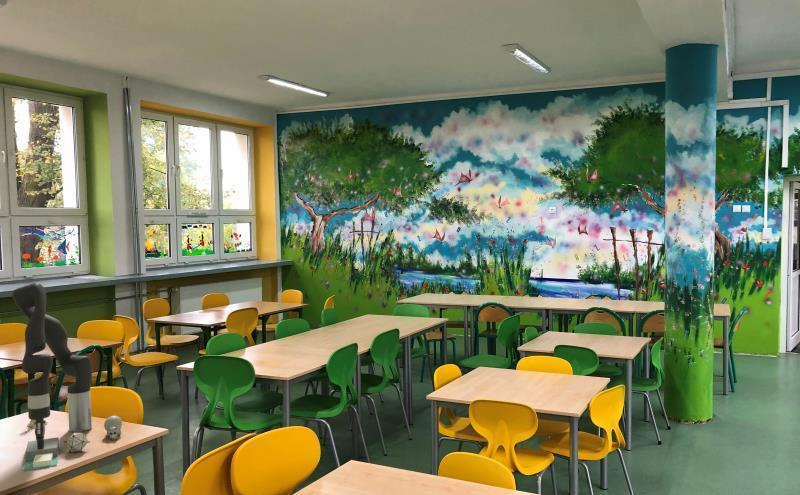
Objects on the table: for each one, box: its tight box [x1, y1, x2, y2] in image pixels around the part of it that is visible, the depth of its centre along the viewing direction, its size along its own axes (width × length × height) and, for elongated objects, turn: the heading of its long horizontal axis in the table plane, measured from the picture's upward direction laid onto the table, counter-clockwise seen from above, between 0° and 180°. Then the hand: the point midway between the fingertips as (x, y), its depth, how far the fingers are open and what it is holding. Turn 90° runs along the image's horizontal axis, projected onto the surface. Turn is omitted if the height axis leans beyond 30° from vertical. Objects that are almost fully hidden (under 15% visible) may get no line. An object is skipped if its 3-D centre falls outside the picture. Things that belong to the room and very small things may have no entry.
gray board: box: [24, 436, 60, 462], centre depth 264 cm, size 11×14×4 cm
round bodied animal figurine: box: [103, 415, 123, 441], centre depth 284 cm, size 7×12×8 cm, turn 21°
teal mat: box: [23, 457, 58, 472], centre depth 253 cm, size 11×10×1 cm
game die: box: [63, 430, 91, 454], centre depth 266 cm, size 9×8×10 cm
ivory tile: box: [33, 452, 53, 468], centre depth 254 cm, size 6×9×2 cm, turn 24°
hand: (40, 448), depth 257 cm, fingers closed
